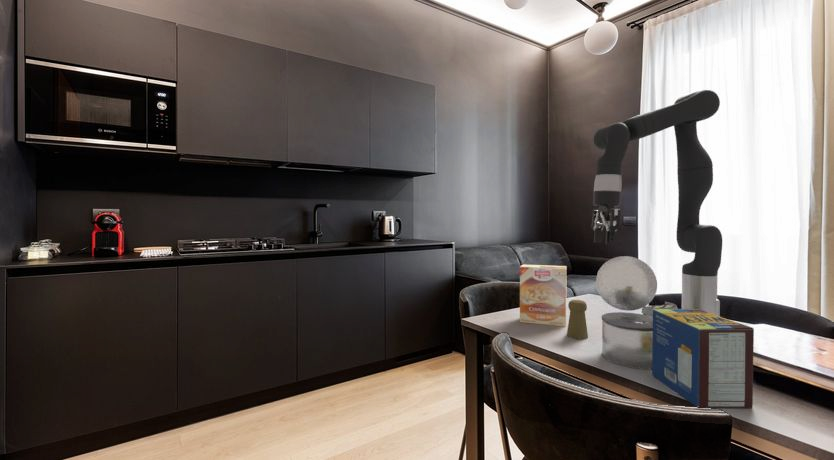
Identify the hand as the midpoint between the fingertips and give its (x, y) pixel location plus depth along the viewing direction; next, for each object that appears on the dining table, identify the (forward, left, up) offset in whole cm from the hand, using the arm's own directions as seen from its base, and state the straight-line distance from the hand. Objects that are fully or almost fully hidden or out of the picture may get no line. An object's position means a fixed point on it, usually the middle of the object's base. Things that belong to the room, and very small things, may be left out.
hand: (603, 243), depth 117 cm
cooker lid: (-4, +11, -10) cm, 16 cm away
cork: (+8, +5, -28) cm, 30 cm away
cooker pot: (-4, +20, -28) cm, 35 cm away
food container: (-16, +1, -28) cm, 33 cm away
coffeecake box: (+18, -8, -28) cm, 34 cm away
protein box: (-13, +36, -28) cm, 48 cm away
